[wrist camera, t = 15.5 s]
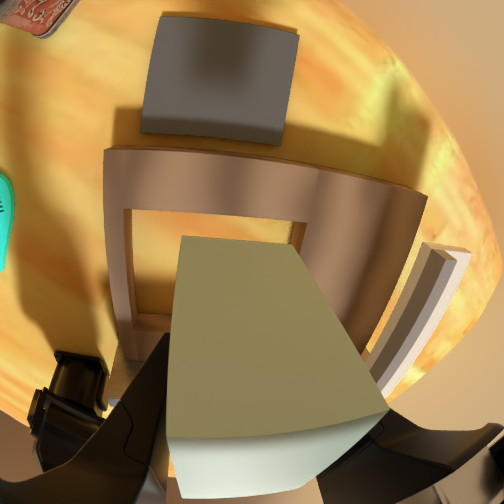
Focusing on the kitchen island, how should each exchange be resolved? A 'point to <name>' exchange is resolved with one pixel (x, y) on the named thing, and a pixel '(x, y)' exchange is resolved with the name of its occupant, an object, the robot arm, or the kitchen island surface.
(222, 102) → the rubber mat
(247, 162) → the brown rectangular frame
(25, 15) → the lighter
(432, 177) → the kitchen island surface
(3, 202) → the handheld game console
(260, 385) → the green block
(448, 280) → the sliding cover
